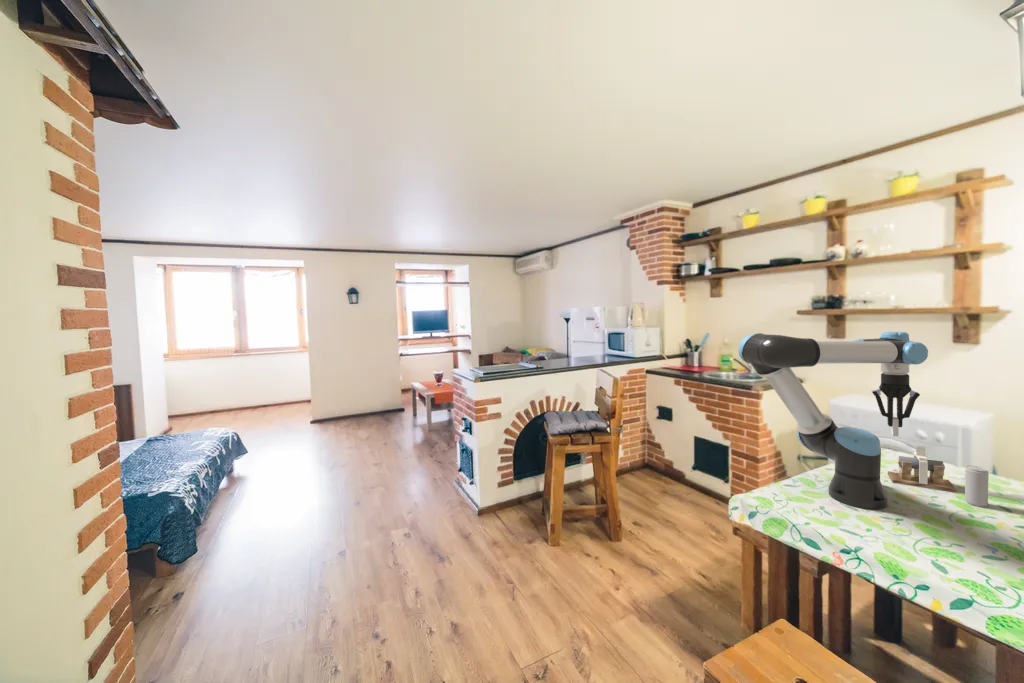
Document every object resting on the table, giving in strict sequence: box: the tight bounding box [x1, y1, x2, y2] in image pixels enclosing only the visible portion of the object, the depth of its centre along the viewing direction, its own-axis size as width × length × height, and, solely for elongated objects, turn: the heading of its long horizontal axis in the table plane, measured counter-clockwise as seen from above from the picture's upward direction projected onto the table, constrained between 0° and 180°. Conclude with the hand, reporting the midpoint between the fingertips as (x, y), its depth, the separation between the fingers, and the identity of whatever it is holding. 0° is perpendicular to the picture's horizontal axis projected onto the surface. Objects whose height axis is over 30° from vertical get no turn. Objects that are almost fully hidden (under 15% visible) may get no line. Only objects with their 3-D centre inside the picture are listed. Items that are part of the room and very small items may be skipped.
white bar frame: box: [912, 445, 929, 484], centre depth 141 cm, size 2×9×12 cm, turn 143°
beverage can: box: [964, 464, 990, 508], centre depth 125 cm, size 5×5×12 cm
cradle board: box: [887, 461, 958, 493], centre depth 141 cm, size 16×9×8 cm, turn 54°
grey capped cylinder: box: [897, 455, 946, 472], centre depth 141 cm, size 12×4×4 cm, turn 54°
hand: (894, 435), depth 145 cm, fingers closed
